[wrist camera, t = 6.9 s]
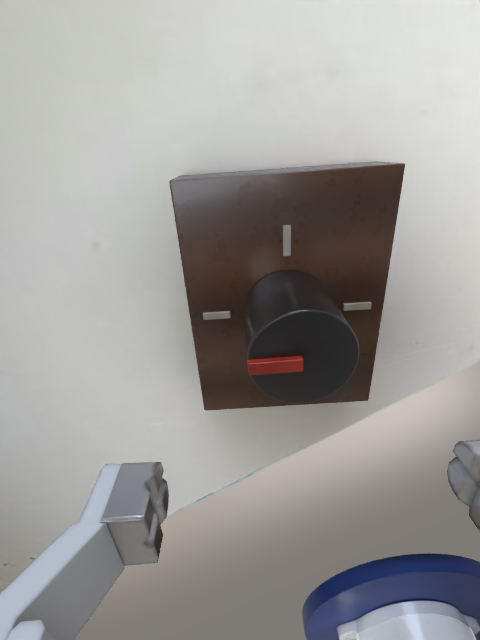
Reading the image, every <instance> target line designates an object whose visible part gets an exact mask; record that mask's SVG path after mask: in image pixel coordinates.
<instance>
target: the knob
mask: <svg viewBox="0 0 480 640" xmlns="http://www.w3.org/2000/svg"><path fill="white" fill-rule="evenodd" d="M244 324H245V341H246V358H247V368H248V372H249V375H250V377H251V379H252V381H253V382H254V383H255V385H256V386H257V387H258V388H259V389H260V390H261V391H262V392H264V393H265V394H266V395H268V396H270V397H272V398H274V399H276V400H280V401H283V402H288V403H307V402H312V401H317V400H320V399H323V398H325V397H327V396H329V395H331V394H333V393H334V392H336V391H337V390H339V389H340V388H341V387H342V386H343V385H344V384H345V383H346V382H347V381H348V380H349V379H350V377H351V376H352V374H353V373H354V371H355V369H356V366H357V363H358V358H359V344H358V340H357V337H356V335H355V333H354V331H353V330H352V328H351V327H350V325H349V324H348V322H347V321H346V319H345V318H344V316H343V315H342V313H341V312H340V310H339V309H338V307H337V306H336V304H335V303H334V301H333V300H332V298H331V297H330V295H329V294H328V292H327V291H326V289H325V288H324V286H323V285H322V284H321V283H320V282H319V281H318V280H317V279H316V278H314V277H313V276H311V275H309V274H307V273H304V272H300V271H294V270H286V271H279V272H276V273H273V274H270V275H268V276H266V277H265V278H263V279H262V280H260V281H259V282H258V283H257V284H256V285H255V286H254V287H253V288H252V290H251V291H250V293H249V294H248V296H247V299H246V302H245V305H244Z"/></svg>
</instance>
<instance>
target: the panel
mask: <svg viewBox="0 0 480 640" xmlns="http://www.w3.org/2000/svg"><path fill="white" fill-rule="evenodd" d="M404 168H405V164H404V163H391V162H363V163H349V164H336V165H322V166H308V167H294V168H280V169H266V170H253V171H239V172H225V173H211V174H197V175H183V176H179V177H177V178H174V179H172V180H170V188H171V195H172V201H173V208H174V214H175V221H176V227H177V234H178V240H179V247H180V253H181V260H182V267H183V273H184V280H185V286H186V293H187V299H188V306H189V312H190V319H191V325H192V332H193V338H194V345H195V351H196V358H197V364H198V371H199V377H200V384H201V390H202V397H203V403H204V409H205V410H220V409H236V408H253V407H269V406H286V405H303V404H319V403H336V402H352V401H368V399H369V392H370V386H371V379H372V373H373V367H374V360H375V354H376V347H377V341H378V335H379V328H380V322H381V315H382V309H383V303H384V296H385V290H386V283H387V277H388V270H389V264H390V258H391V251H392V245H393V238H394V232H395V226H396V219H397V213H398V206H399V200H400V194H401V187H402V181H403V174H404ZM286 270H294V271H300V272H304V273H307V274H309V275H311V276H313V277H314V278H316V279H317V280H318V281H319V282H320V283H321V284H322V285H323V286H324V288H325V289H326V291H327V292H328V294H329V295H330V297H331V298H332V300H333V301H334V303H335V304H336V306H337V307H338V309H339V310H340V312H341V313H342V315H343V316H344V318H345V319H346V321H347V322H348V324H349V325H350V327H351V328H352V330H353V331H354V333H355V335H356V337H357V340H358V344H359V358H358V363H357V366H356V369H355V371H354V373H353V374H352V376H351V377H350V379H349V380H348V381H347V382H346V383H345V384H344V385H343V386H342V387H341V388H340V389H339V390H337V391H336V392H334V393H333V394H331V395H329V396H327V397H325V398H323V399H320V400H317V401H312V402H307V403H288V402H283V401H280V400H276V399H274V398H272V397H270V396H268V395H266V394H265V393H264V392H262V391H261V390H260V389H259V388H258V387H257V386H256V385H255V383H254V382H253V381H252V379H251V377H250V375H249V372H248V368H247V358H246V341H245V324H244V305H245V302H246V299H247V296H248V294H249V293H250V291H251V290H252V288H253V287H254V286H255V285H256V284H257V283H258V282H259V281H260V280H262V279H263V278H265V277H266V276H268V275H270V274H273V273H276V272H279V271H286Z"/></svg>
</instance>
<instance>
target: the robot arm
mask: <svg viewBox="0 0 480 640" xmlns="http://www.w3.org/2000/svg"><path fill="white" fill-rule="evenodd" d="M453 452H454V453H455V455H456V456H457V457H455V458H454V459H453V460H452V461H451V462H449V466H448V470H447V474H448V480H449V483H450V486H451V488H452V490H453V492H454V493H455V495H456V496H457V498H458V499H459V500H460V501H461V502H463V503H464V504H466V505H467V506H469V507H470V510H469V516H470V518H471V519H472V521H473V522H474V524H475V525H476V527H477V528H478V530H479V531H480V440H471V441H460V442H458V443H457V444H456V445H455V447H454V449H453ZM163 471H164V470H163V467H162V464H161V462H145V463H122V464H106V465H105V466H104V467H103V468H102V469H101V471H100V473H99V476H98V478H97V480H96V483H95V485H94V487H93V490H92V492H91V494H90V497H89V499H88V501H87V504H86V506H85V508H84V511H83V513H82V515H81V518H80V520H79V522H78V524H75V525H71V526H70V527H69V528H68V529H67V530H66V531H65V532H64V533H63V534H62V535H61V536H60V537H59V538H58V539H57V540H55V541H54V542H53V543H52V544H51V545H50V546H49V547H48V548H47V549H46V550H45V551H44V552H43V553H42V554H41V555H40V556H39V557H38V558H37V559H36V560H35V561H34V562H32V563H31V564H30V565H29V566H28V567H27V568H26V569H25V570H24V571H23V572H22V573H21V574H20V575H19V576H18V577H17V578H16V579H15V580H14V581H13V582H12V583H11V584H9V585H8V586H7V587H6V588H5V589H4V590H3V591H2V592H1V593H0V640H74V639H75V638H76V636H77V635H78V634H79V632H80V631H81V629H82V628H83V627H84V625H85V624H86V622H87V621H88V620H89V618H90V617H91V615H92V614H93V612H94V611H95V610H96V608H97V607H98V605H99V604H100V603H101V601H102V600H103V598H104V597H105V595H106V594H107V592H108V591H109V590H110V588H111V587H112V585H113V584H114V583H115V581H116V580H117V578H118V577H119V575H120V574H121V573H122V571H123V570H124V568H125V567H124V566H127V565H138V564H148V563H157V562H158V558H159V553H160V548H161V542H162V537H163V534H162V530H161V527H160V525H161V523H162V522H163V521H164V520H165V519H166V516H167V510H168V497H169V494H168V486H167V481H166V480H164V479H163V478H162V475H163ZM336 630H337V633H338V637H339V640H476V638H475V635H476V634H477V633H478V632H479V631H480V627H479V624H478V622H477V620H476V619H475V618H473V617H470V616H467V615H463V614H462V613H461V612H460V611H459V610H458V609H457V608H455V607H453V606H451V605H449V604H446V603H442V602H436V601H408V602H401V603H395V604H391V605H387V606H384V607H381V608H378V609H375V610H373V611H371V612H369V613H367V614H365V615H363V616H362V617H360V618H358V619H356V620H354V621H350V622H347V623H344V624H341V625H339V626H338V627H337V628H336Z"/></svg>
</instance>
